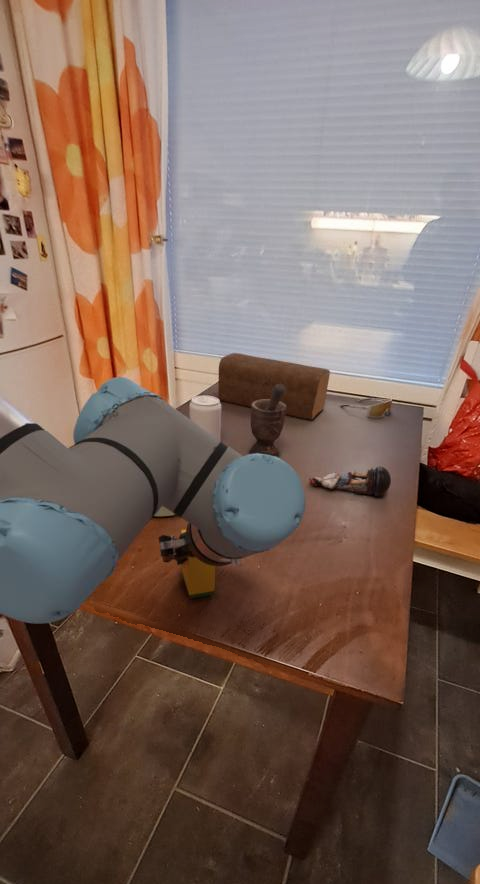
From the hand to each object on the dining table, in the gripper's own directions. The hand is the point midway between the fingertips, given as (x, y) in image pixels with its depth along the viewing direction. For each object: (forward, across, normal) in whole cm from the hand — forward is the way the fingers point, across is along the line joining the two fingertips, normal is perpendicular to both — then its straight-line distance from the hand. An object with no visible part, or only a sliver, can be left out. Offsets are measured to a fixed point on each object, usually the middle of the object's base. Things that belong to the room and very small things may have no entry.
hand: (192, 554), depth 69 cm
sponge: (0, 0, -5) cm, 5 cm away
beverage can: (+38, +14, +32) cm, 52 cm away
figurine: (+17, +41, +11) cm, 45 cm away
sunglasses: (+50, +75, +45) cm, 101 cm away
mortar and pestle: (+31, +28, +25) cm, 49 cm away
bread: (+57, +44, +52) cm, 88 cm away
